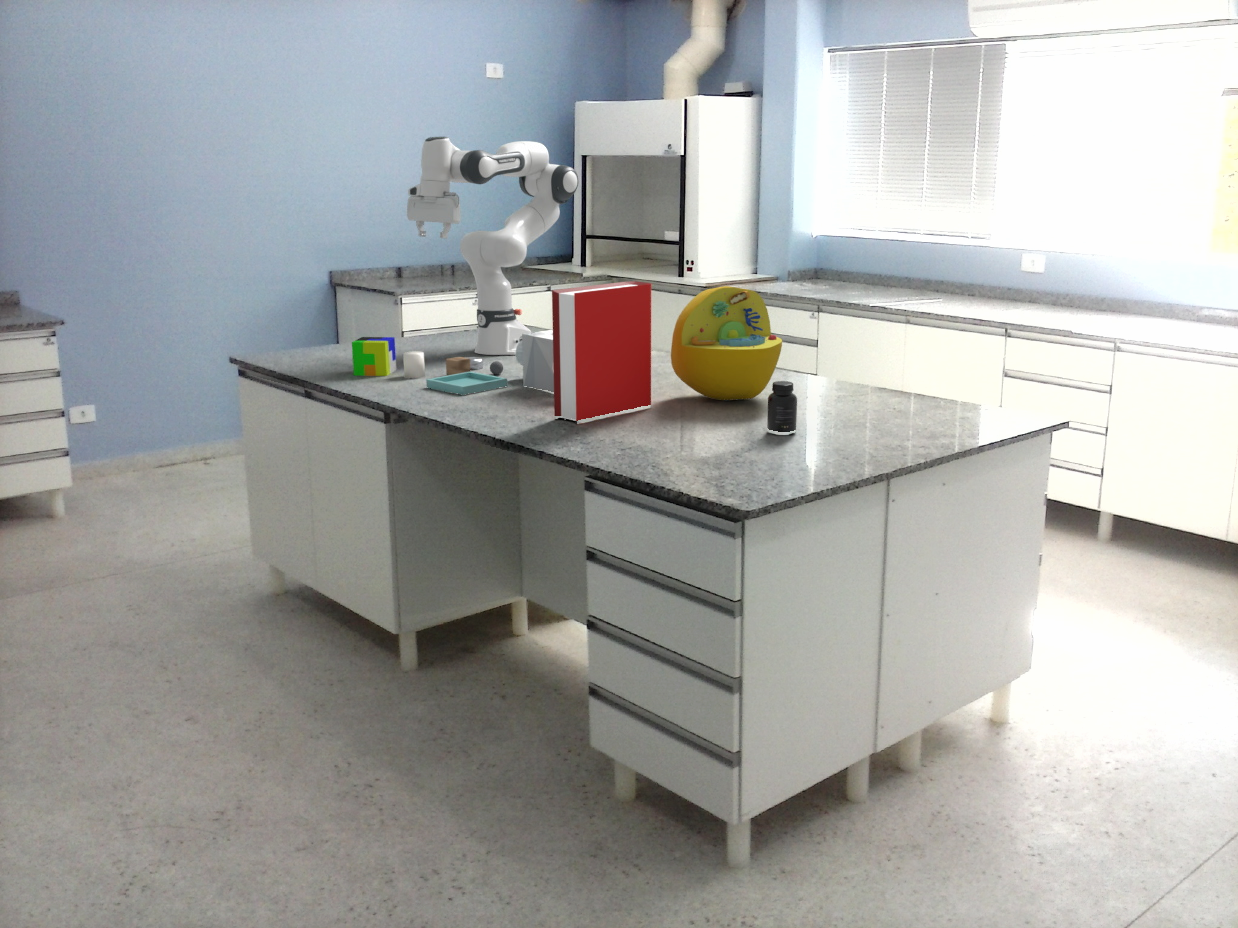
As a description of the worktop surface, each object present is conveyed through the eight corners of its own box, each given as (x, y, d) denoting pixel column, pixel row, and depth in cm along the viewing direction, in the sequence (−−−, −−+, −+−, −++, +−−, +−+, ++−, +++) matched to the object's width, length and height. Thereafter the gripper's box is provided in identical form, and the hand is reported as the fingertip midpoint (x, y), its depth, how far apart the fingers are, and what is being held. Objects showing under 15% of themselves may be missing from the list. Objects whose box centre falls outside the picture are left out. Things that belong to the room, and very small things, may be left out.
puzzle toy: (396, 370, 357) (394, 337, 354) (386, 376, 347) (384, 342, 344) (364, 369, 358) (362, 337, 355) (353, 375, 348) (351, 342, 345)
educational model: (716, 417, 292) (718, 296, 284) (649, 396, 316) (649, 284, 308) (806, 403, 307) (810, 288, 299) (736, 384, 331) (738, 277, 323)
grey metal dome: (472, 365, 363) (472, 356, 363) (487, 368, 359) (487, 358, 358) (455, 368, 358) (454, 359, 358) (470, 371, 354) (469, 361, 353)
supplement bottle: (764, 429, 279) (765, 380, 276) (792, 429, 280) (794, 379, 277) (770, 436, 273) (771, 386, 270) (799, 435, 273) (800, 385, 270)
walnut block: (459, 373, 351) (459, 356, 350) (470, 375, 348) (469, 358, 346) (446, 375, 347) (445, 359, 346) (457, 377, 344) (456, 361, 343)
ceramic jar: (416, 374, 350) (415, 350, 348) (429, 376, 346) (428, 353, 344) (400, 376, 346) (398, 353, 344) (412, 379, 342) (411, 355, 340)
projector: (631, 391, 325) (631, 336, 321) (579, 400, 313) (578, 344, 309) (553, 373, 350) (552, 323, 346) (501, 382, 338) (500, 329, 334)
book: (576, 425, 285) (574, 293, 277) (554, 419, 291) (551, 290, 282) (654, 407, 303) (654, 283, 295) (632, 403, 309) (632, 281, 300)
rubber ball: (497, 372, 351) (497, 359, 350) (506, 374, 348) (505, 361, 347) (487, 374, 348) (486, 361, 347) (496, 376, 345) (495, 363, 344)
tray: (470, 379, 341) (470, 371, 340) (507, 386, 330) (507, 378, 330) (426, 387, 330) (426, 379, 329) (463, 395, 319) (462, 387, 318)
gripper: (466, 193, 352) (464, 240, 354) (419, 191, 364) (417, 236, 366) (451, 191, 347) (449, 239, 349) (404, 189, 359) (402, 235, 361)
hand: (432, 237), depth 358 cm, fingers open, 8 cm apart
